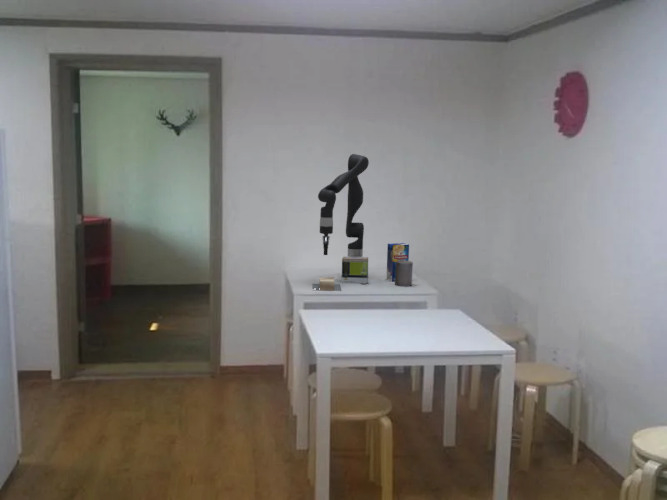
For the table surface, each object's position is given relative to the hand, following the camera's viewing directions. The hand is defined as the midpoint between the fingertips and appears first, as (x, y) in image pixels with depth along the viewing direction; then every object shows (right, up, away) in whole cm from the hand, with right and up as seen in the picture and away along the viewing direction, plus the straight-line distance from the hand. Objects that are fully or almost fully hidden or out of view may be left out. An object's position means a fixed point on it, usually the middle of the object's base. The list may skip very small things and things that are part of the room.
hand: (325, 254), depth 415 cm
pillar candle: (+45, -18, +4) cm, 49 cm away
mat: (+1, -18, -10) cm, 21 cm away
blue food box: (+43, -16, +19) cm, 49 cm away
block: (+1, -15, -7) cm, 17 cm away
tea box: (+17, -16, +9) cm, 25 cm away
